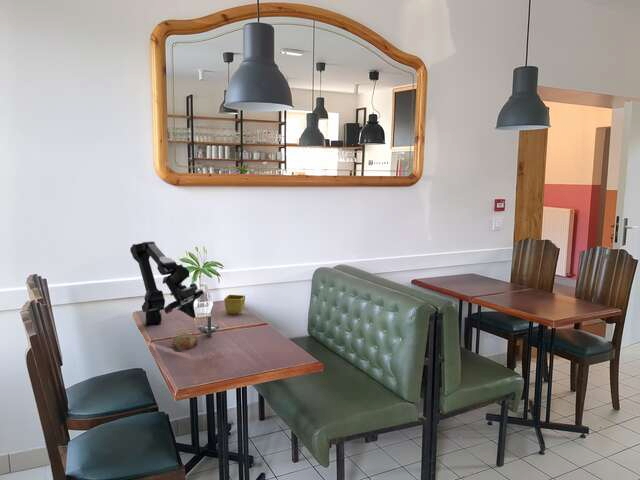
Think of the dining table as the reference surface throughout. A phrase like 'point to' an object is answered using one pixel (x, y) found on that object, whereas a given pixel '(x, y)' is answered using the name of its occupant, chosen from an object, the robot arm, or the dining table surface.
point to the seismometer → (208, 326)
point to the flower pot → (234, 303)
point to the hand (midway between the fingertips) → (194, 317)
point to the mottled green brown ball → (184, 342)
